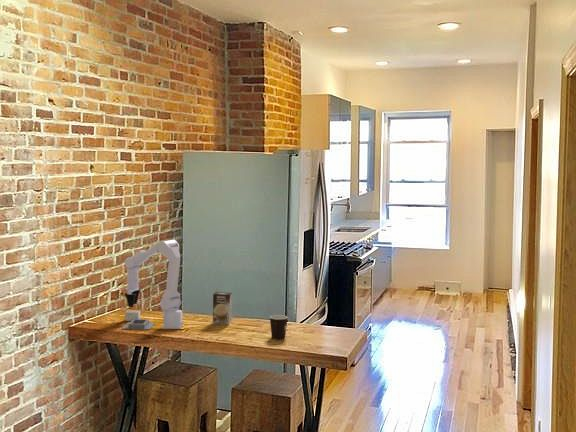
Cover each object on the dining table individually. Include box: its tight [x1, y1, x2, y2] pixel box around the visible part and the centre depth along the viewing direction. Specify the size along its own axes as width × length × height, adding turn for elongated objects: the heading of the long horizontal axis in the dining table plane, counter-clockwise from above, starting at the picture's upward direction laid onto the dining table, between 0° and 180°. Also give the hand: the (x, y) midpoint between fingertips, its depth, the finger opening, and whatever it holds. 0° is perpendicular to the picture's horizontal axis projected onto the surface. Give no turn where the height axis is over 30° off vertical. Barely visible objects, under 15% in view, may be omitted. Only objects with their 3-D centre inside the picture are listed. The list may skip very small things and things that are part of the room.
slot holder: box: [121, 318, 156, 331], centre depth 332 cm, size 14×13×2 cm
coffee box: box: [211, 291, 233, 326], centre depth 341 cm, size 9×6×16 cm
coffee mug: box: [269, 314, 288, 340], centre depth 314 cm, size 12×9×10 cm
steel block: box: [124, 310, 141, 322], centre depth 344 cm, size 7×4×5 cm, turn 90°
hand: (132, 305), depth 343 cm, fingers open, 7 cm apart
